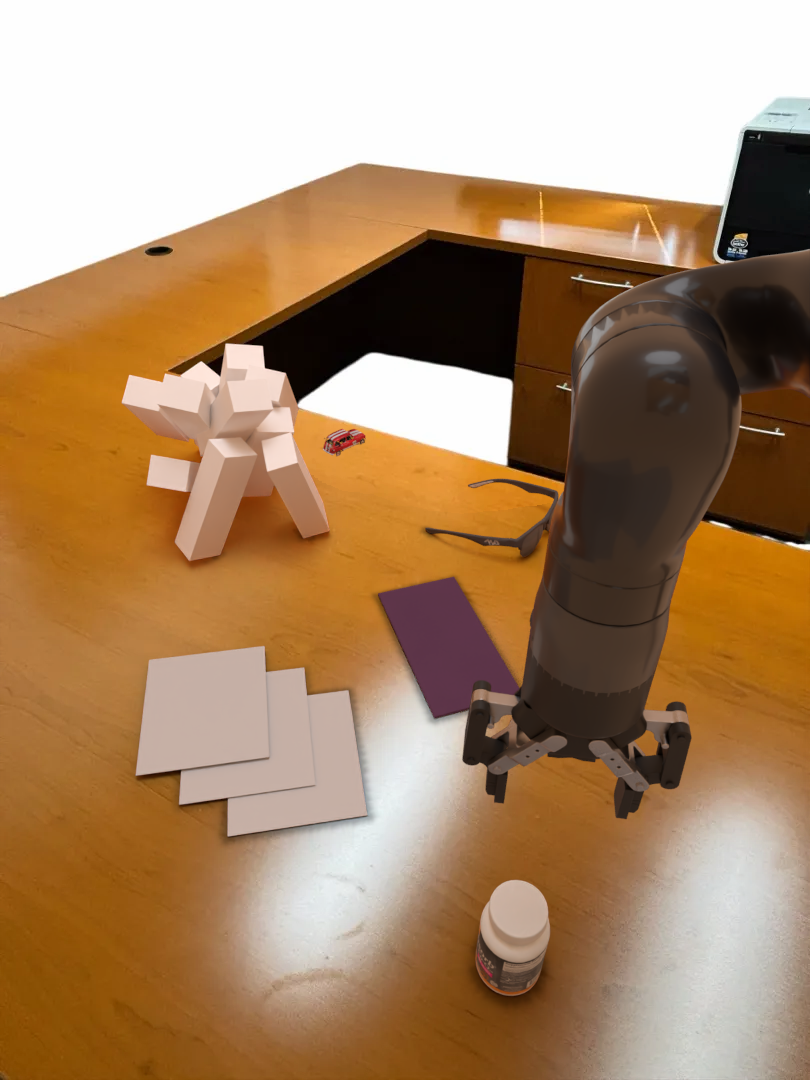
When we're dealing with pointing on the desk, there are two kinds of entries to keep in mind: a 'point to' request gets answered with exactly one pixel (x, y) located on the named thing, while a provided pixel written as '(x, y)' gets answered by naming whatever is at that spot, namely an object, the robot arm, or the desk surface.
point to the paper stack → (251, 740)
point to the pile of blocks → (227, 445)
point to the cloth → (445, 644)
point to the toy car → (344, 438)
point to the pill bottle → (513, 938)
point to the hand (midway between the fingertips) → (559, 800)
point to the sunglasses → (526, 540)
